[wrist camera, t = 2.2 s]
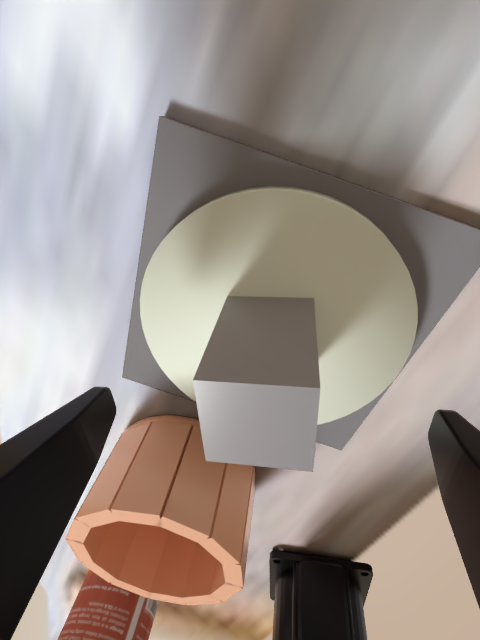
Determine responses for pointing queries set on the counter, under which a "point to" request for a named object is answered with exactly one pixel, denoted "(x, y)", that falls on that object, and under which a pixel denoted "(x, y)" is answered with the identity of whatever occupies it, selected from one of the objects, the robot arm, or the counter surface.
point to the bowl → (167, 516)
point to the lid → (277, 319)
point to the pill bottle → (108, 613)
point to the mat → (268, 170)
